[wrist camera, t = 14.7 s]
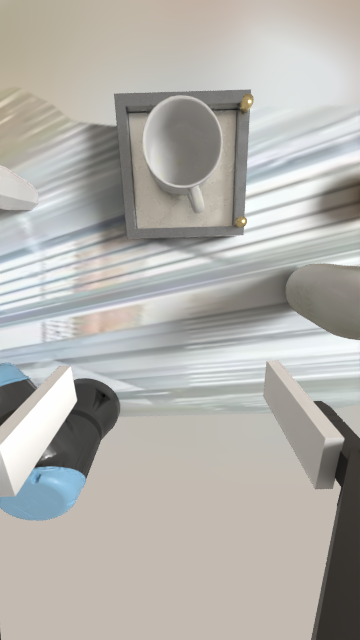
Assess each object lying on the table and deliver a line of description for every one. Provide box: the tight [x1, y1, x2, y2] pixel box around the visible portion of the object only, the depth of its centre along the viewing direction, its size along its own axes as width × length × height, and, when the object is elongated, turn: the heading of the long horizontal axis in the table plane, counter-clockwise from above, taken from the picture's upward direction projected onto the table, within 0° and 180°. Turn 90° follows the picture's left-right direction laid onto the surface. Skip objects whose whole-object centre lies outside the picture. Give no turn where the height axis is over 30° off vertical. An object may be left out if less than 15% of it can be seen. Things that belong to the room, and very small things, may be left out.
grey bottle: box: [285, 264, 360, 340], centre depth 36 cm, size 10×10×28 cm
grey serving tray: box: [114, 90, 253, 239], centre depth 40 cm, size 20×20×7 cm
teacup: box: [142, 95, 223, 214], centre depth 36 cm, size 14×11×8 cm
